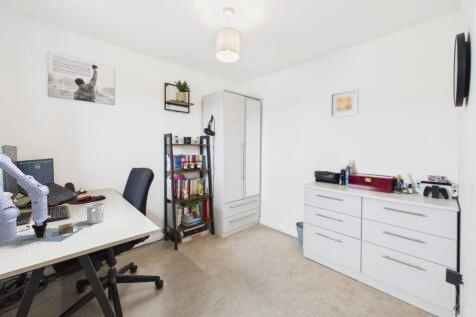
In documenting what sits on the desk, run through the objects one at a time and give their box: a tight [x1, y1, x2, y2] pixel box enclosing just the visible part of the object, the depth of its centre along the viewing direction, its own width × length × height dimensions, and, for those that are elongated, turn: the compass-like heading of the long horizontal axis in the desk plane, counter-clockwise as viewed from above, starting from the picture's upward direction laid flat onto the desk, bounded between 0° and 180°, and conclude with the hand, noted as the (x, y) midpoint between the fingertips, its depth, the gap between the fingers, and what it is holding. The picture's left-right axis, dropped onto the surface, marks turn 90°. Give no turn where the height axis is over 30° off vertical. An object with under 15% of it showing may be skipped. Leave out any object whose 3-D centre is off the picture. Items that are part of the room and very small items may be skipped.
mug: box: [86, 202, 105, 225], centre depth 127 cm, size 12×9×11 cm
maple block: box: [33, 225, 48, 240], centre depth 106 cm, size 4×4×5 cm
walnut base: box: [57, 222, 74, 235], centre depth 113 cm, size 6×6×4 cm
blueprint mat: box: [19, 227, 84, 243], centre depth 110 cm, size 20×16×1 cm
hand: (40, 234), depth 106 cm, fingers open, 7 cm apart
